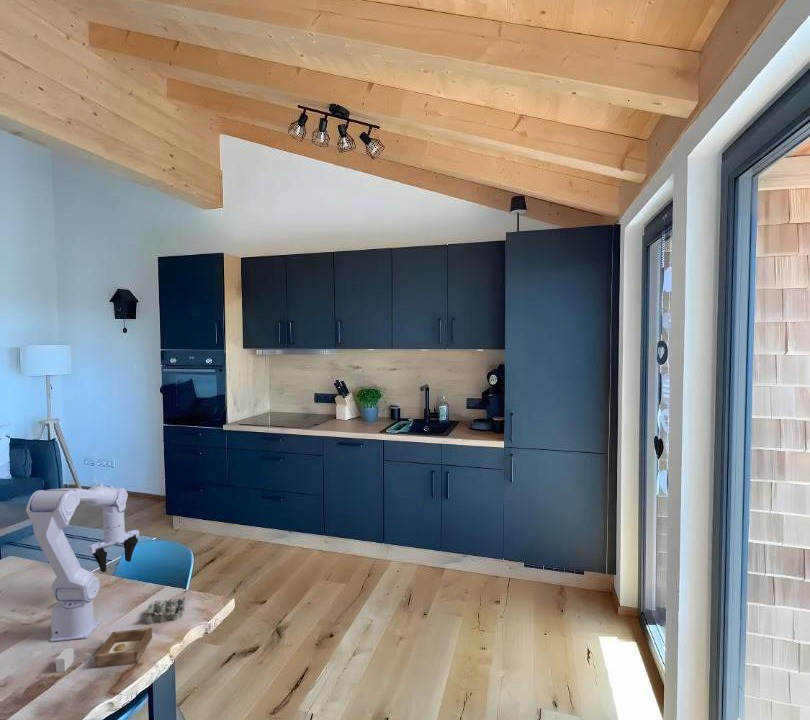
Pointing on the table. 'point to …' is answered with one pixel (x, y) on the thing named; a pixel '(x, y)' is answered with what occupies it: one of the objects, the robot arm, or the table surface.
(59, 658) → the lid
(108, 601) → the table surface
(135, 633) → the box
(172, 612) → the egg carton
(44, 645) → the table surface
